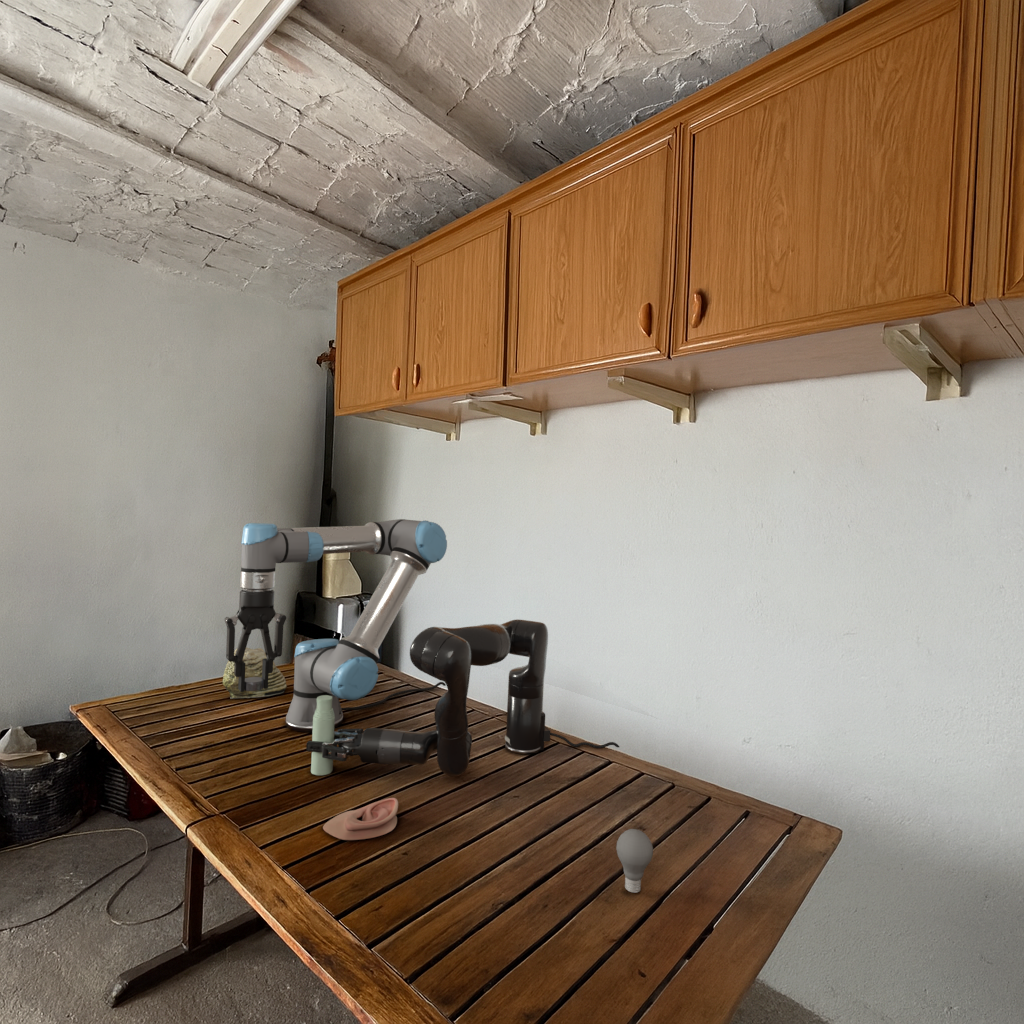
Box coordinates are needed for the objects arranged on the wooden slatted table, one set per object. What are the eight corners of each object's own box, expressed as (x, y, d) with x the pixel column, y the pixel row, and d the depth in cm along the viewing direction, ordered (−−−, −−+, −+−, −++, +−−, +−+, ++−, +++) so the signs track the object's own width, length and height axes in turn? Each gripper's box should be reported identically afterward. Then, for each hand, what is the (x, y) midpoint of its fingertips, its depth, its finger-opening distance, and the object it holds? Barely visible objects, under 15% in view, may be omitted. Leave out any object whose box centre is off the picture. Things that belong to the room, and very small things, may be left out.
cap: (268, 687, 150) (268, 678, 149) (253, 692, 145) (253, 683, 145) (253, 684, 151) (253, 675, 151) (237, 689, 147) (238, 680, 147)
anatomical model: (315, 814, 118) (343, 787, 129) (314, 835, 118) (343, 807, 129) (382, 825, 115) (405, 796, 127) (381, 846, 116) (404, 816, 127)
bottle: (306, 772, 145) (309, 698, 144) (320, 765, 149) (322, 693, 149) (323, 777, 143) (326, 702, 143) (336, 769, 148) (339, 696, 147)
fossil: (218, 695, 195) (220, 647, 195) (278, 685, 208) (279, 640, 207) (228, 703, 189) (230, 653, 188) (289, 692, 201) (290, 645, 201)
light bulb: (610, 879, 108) (613, 822, 108) (644, 879, 109) (647, 822, 109) (619, 902, 102) (622, 840, 102) (655, 901, 103) (658, 840, 103)
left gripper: (220, 593, 140) (215, 698, 140) (300, 590, 150) (295, 687, 150) (213, 588, 146) (208, 689, 146) (290, 585, 156) (286, 679, 156)
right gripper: (392, 719, 152) (322, 714, 153) (376, 741, 138) (299, 736, 139) (391, 750, 152) (321, 745, 153) (374, 776, 138) (298, 770, 139)
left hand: (253, 688), depth 148 cm, fingers closed on cap, 4 cm apart
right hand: (311, 741), depth 146 cm, fingers closed on bottle, 4 cm apart
